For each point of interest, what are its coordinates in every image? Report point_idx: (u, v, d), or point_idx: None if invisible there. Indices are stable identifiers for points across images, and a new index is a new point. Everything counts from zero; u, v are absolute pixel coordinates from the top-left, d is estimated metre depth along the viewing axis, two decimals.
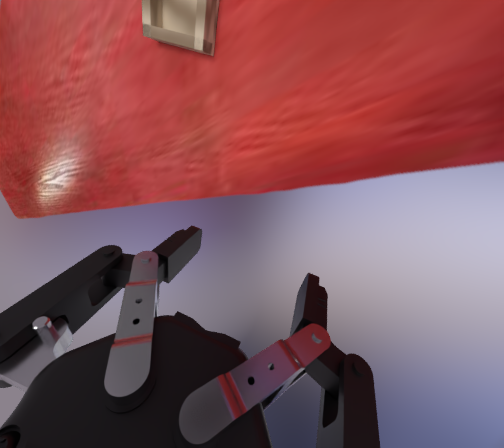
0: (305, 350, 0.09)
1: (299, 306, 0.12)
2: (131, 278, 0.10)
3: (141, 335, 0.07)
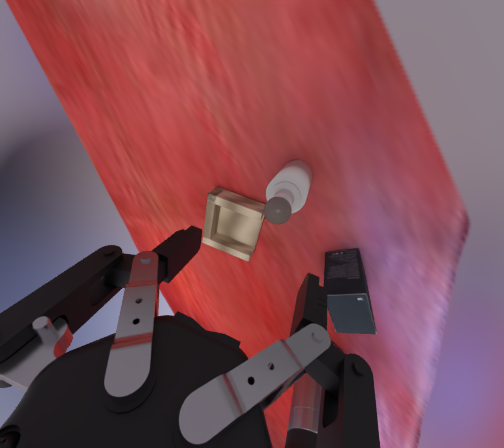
0: (305, 350, 0.09)
1: (299, 306, 0.12)
2: (131, 278, 0.10)
3: (141, 335, 0.07)
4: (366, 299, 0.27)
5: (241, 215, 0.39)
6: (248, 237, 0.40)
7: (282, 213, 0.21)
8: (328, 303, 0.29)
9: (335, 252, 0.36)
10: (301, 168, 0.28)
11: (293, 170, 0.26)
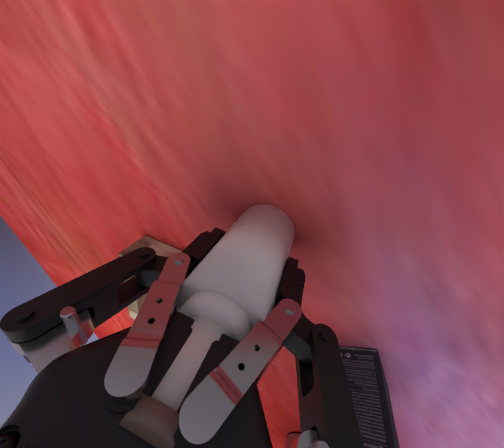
0: (282, 324, 0.10)
1: None
2: (161, 276, 0.10)
3: (141, 335, 0.07)
4: None
5: None
6: None
7: None
8: None
9: None
10: (265, 234, 0.13)
11: (241, 249, 0.11)
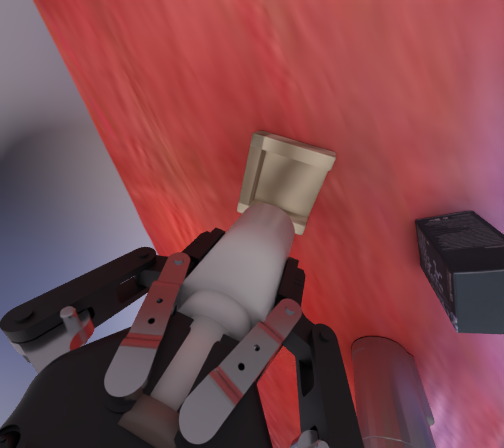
0: (282, 324, 0.10)
1: None
2: (161, 276, 0.10)
3: (141, 335, 0.07)
4: None
5: (294, 170, 0.28)
6: (300, 203, 0.30)
7: None
8: (460, 286, 0.18)
9: (433, 218, 0.25)
10: (265, 233, 0.13)
11: (241, 248, 0.11)
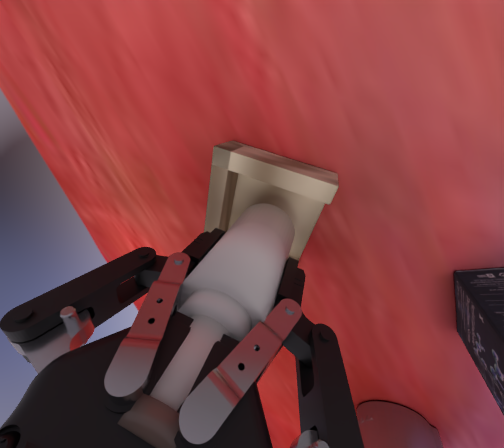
0: (282, 324, 0.10)
1: None
2: (161, 276, 0.10)
3: (141, 335, 0.07)
4: None
5: (278, 197, 0.20)
6: None
7: None
8: None
9: (482, 272, 0.17)
10: (265, 233, 0.13)
11: (241, 248, 0.11)
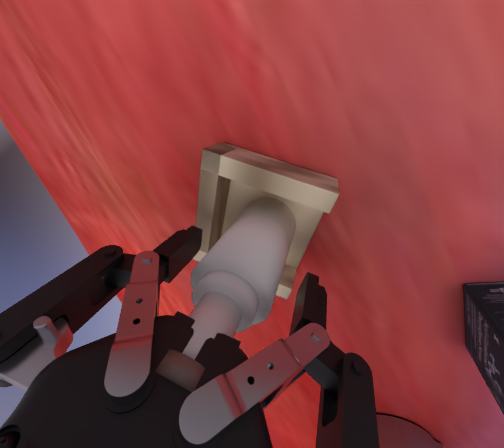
0: (304, 349, 0.09)
1: (299, 305, 0.12)
2: (132, 278, 0.10)
3: (141, 335, 0.07)
4: None
5: None
6: None
7: None
8: None
9: (495, 286, 0.16)
10: (270, 224, 0.14)
11: (249, 236, 0.13)
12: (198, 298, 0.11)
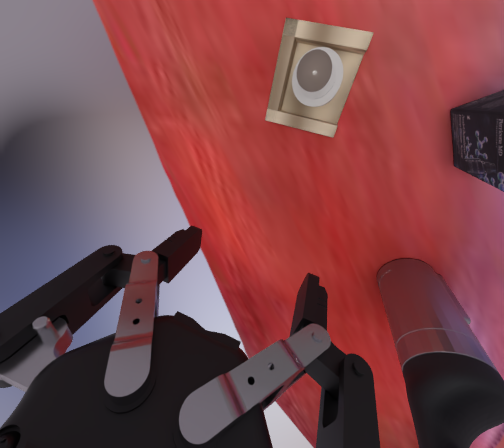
0: (305, 350, 0.09)
1: (299, 306, 0.12)
2: (131, 278, 0.10)
3: (141, 335, 0.07)
4: None
5: None
6: (330, 108, 0.29)
7: (321, 71, 0.17)
8: None
9: (470, 102, 0.25)
10: None
11: None
12: None
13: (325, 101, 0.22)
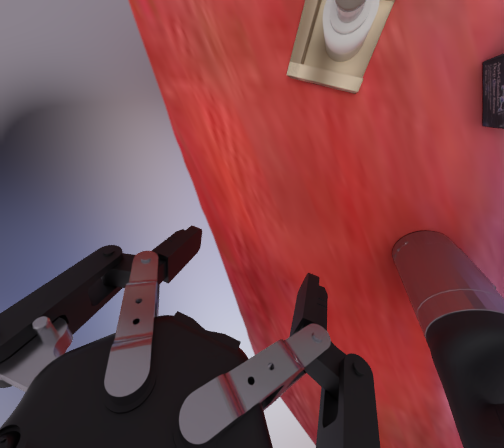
0: (305, 350, 0.09)
1: (299, 306, 0.12)
2: (131, 278, 0.10)
3: (141, 335, 0.07)
4: None
5: None
6: (355, 63, 0.28)
7: None
8: None
9: None
10: None
11: None
12: (335, 4, 0.19)
13: (357, 36, 0.21)
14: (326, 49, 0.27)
